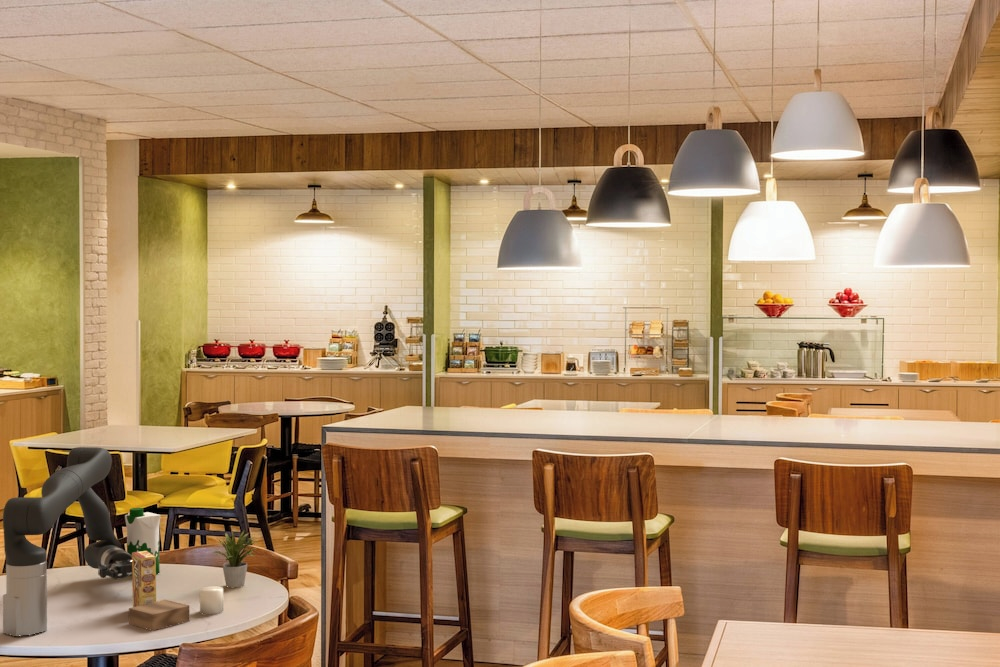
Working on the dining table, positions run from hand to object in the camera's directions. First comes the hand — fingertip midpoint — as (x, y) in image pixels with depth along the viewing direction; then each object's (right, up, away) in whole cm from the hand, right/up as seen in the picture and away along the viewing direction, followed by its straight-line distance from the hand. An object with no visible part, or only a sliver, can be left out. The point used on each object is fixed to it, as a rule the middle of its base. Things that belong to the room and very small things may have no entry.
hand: (132, 573), depth 308 cm
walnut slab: (+13, -8, -19) cm, 25 cm away
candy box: (+6, -8, -9) cm, 14 cm away
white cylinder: (+24, -8, -9) cm, 26 cm away
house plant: (+24, -8, +18) cm, 31 cm away
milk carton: (-8, -8, +34) cm, 36 cm away
